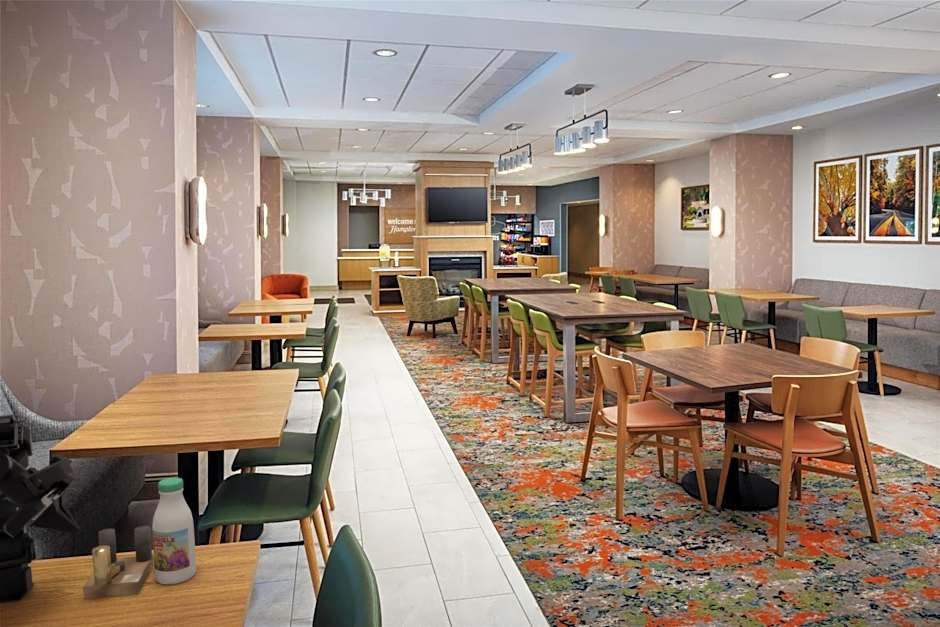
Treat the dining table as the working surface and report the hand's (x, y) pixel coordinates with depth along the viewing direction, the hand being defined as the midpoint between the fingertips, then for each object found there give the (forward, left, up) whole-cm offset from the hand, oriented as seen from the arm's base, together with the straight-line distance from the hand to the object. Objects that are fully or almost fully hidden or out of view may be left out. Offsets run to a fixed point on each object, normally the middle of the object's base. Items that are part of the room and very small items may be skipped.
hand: (77, 531), depth 133 cm
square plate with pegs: (+5, +5, -13) cm, 15 cm away
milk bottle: (+16, +5, -13) cm, 21 cm away
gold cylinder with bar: (+4, +1, -10) cm, 11 cm away
